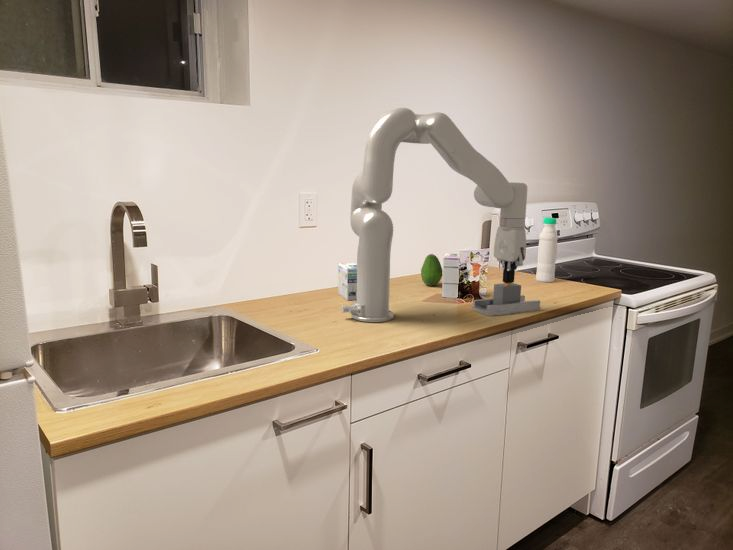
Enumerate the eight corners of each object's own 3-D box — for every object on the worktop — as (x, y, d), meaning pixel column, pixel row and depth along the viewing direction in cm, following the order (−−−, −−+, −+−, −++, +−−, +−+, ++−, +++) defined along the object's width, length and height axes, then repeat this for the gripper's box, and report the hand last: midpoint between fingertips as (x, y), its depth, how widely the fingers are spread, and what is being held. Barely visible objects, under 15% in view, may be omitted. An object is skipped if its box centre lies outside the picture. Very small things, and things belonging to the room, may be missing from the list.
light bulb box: (366, 299, 186) (366, 267, 183) (346, 301, 183) (347, 268, 181) (355, 292, 195) (356, 262, 193) (337, 293, 193) (337, 263, 191)
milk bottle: (556, 282, 218) (562, 218, 214) (538, 282, 218) (543, 218, 214) (551, 279, 225) (556, 217, 220) (533, 278, 225) (538, 216, 220)
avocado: (417, 286, 207) (419, 254, 204) (424, 282, 214) (425, 251, 212) (438, 288, 204) (440, 256, 201) (444, 284, 211) (445, 253, 209)
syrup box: (458, 298, 189) (460, 256, 186) (441, 297, 190) (443, 255, 188) (459, 295, 195) (461, 253, 192) (442, 293, 196) (444, 253, 193)
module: (501, 309, 172) (503, 284, 171) (492, 306, 176) (494, 281, 174) (519, 307, 175) (521, 282, 174) (510, 304, 179) (512, 280, 177)
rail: (489, 316, 167) (490, 306, 167) (471, 309, 175) (472, 300, 175) (540, 310, 176) (541, 300, 176) (521, 303, 184) (521, 294, 183)
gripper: (486, 221, 175) (483, 278, 179) (519, 226, 162) (514, 288, 166) (505, 220, 179) (502, 277, 182) (539, 225, 166) (534, 286, 169)
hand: (508, 282), depth 174 cm, fingers closed
